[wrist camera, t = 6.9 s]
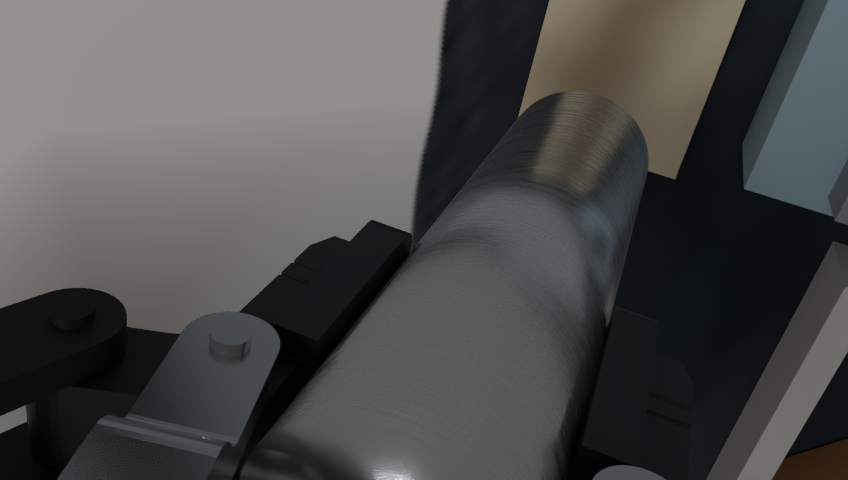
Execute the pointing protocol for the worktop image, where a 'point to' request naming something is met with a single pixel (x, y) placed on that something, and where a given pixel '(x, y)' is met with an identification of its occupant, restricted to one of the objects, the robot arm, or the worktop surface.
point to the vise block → (805, 117)
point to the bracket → (816, 464)
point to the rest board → (637, 62)
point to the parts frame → (791, 377)
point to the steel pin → (482, 318)
